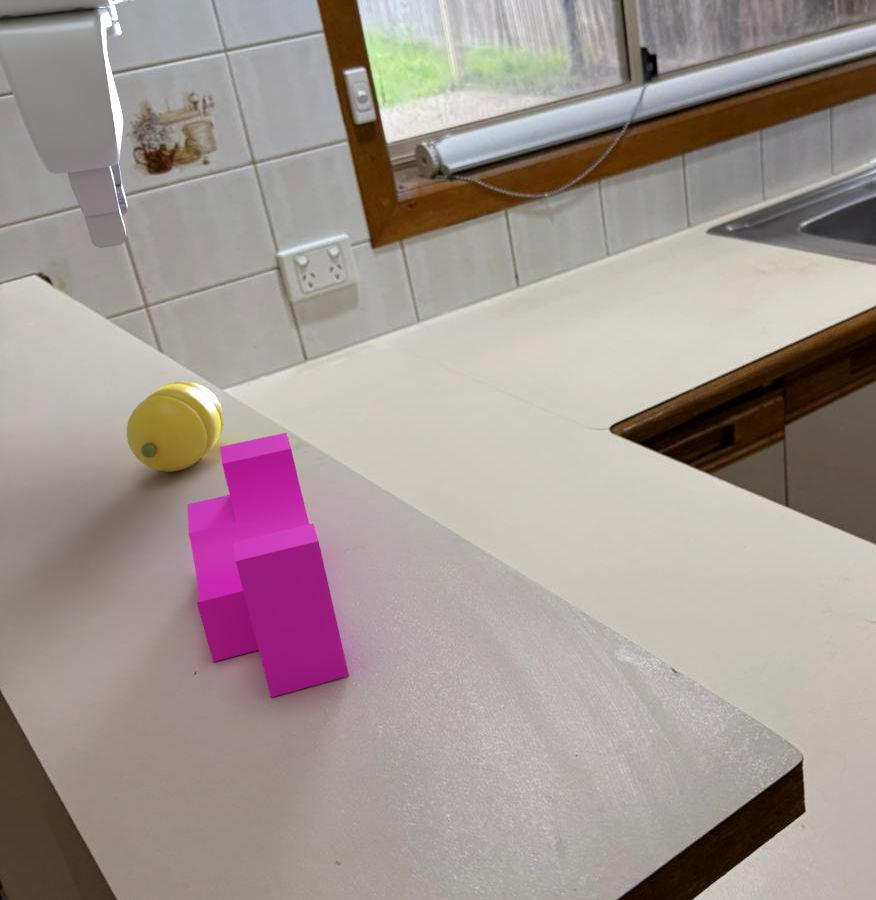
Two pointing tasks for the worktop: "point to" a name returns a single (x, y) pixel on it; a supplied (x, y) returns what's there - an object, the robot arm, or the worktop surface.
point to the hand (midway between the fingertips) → (112, 229)
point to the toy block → (265, 570)
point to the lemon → (175, 426)
